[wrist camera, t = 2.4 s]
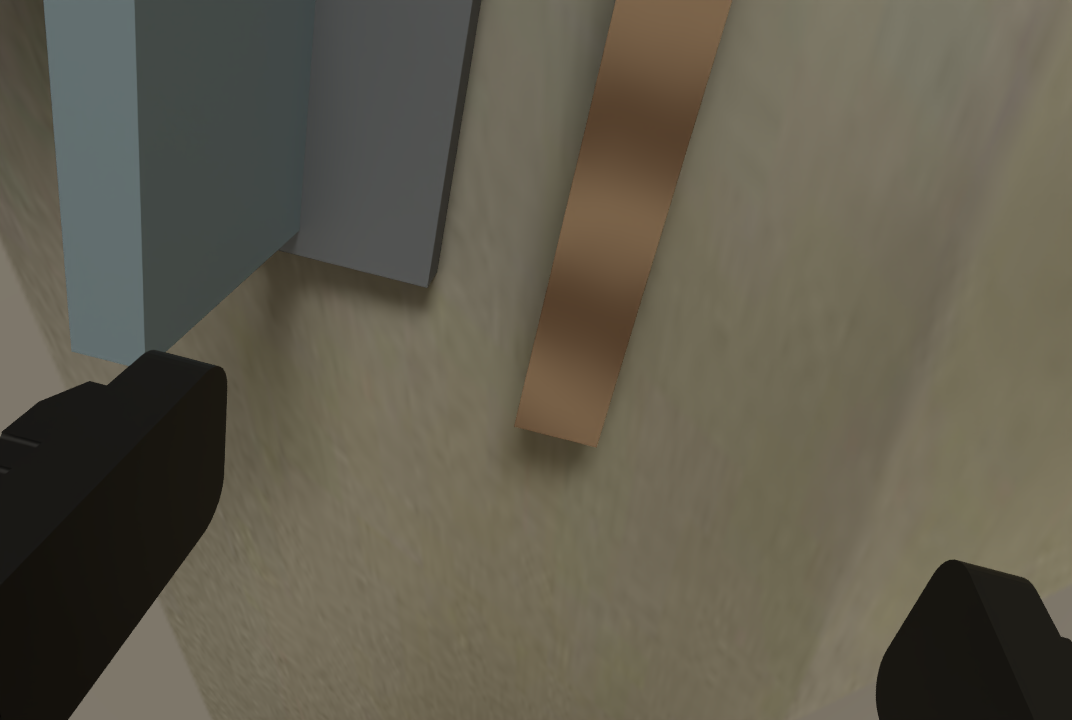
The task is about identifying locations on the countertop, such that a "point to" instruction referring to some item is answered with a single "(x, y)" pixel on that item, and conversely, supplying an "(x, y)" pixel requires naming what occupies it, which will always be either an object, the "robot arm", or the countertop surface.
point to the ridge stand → (245, 148)
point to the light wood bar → (617, 208)
